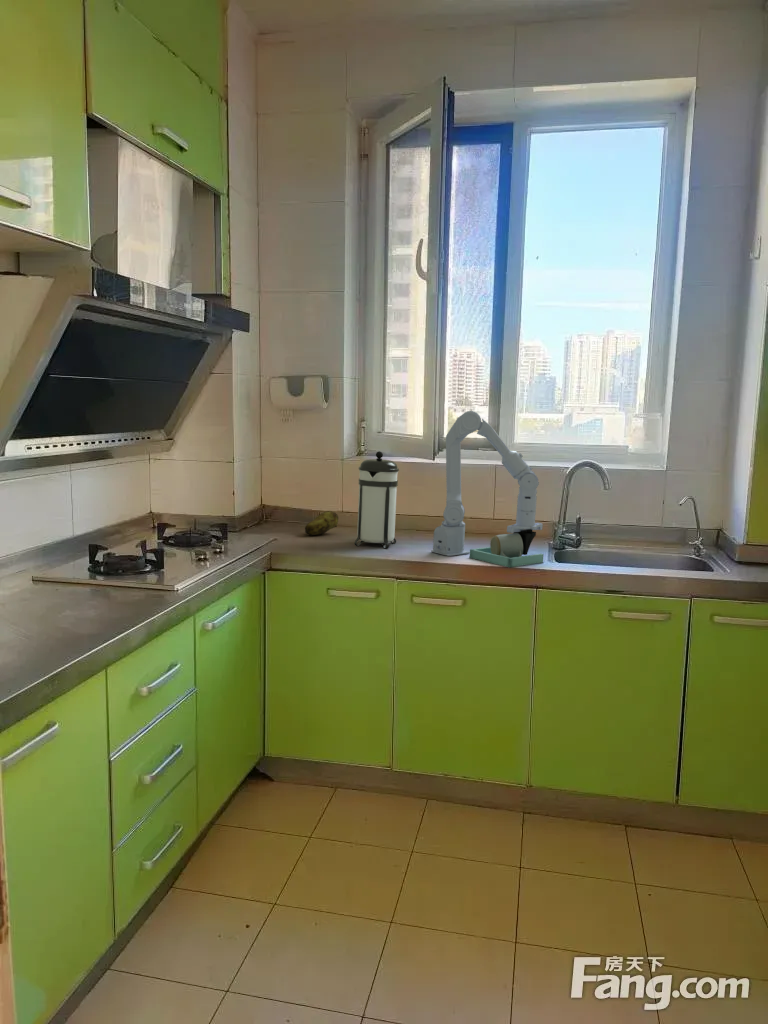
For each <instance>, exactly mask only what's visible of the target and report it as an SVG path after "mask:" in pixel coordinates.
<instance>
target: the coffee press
mask: <svg viewBox="0 0 768 1024" xmlns="http://www.w3.org/2000/svg"><path fill="white" fill-rule="evenodd" d="M383 456H384V455H383V451H379V450H378V451H377V452H376V453H375V457H376V458H372V459H370V458H369V459H365V460H363V461H362V462H361V463H360V465H359V466H358V472H359V478H358V503H357V504H358V506H357V507H358V508H357V509H358V510H357V530H356V531H357V534H356V535H357V536H356V539H355V541H354V546H357V547H359V546H360V545H362V544H363V543H371V544H380V545H382V548H383V549H389V548H390V543H391V544H392V545H395V544H396V543H397V539H396V537H395V535H396V533H395V532H396V530H395V529H396V515H397V514H396V512H397V493H398V492H397V491H398V486H399V483H398V482H399V480H398V473H399V471H400V469H399V468H398V464H397V463H396V462H395V461H393V460H391V459H390V460H389V459H383ZM392 541H393V542H392Z"/></svg>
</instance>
